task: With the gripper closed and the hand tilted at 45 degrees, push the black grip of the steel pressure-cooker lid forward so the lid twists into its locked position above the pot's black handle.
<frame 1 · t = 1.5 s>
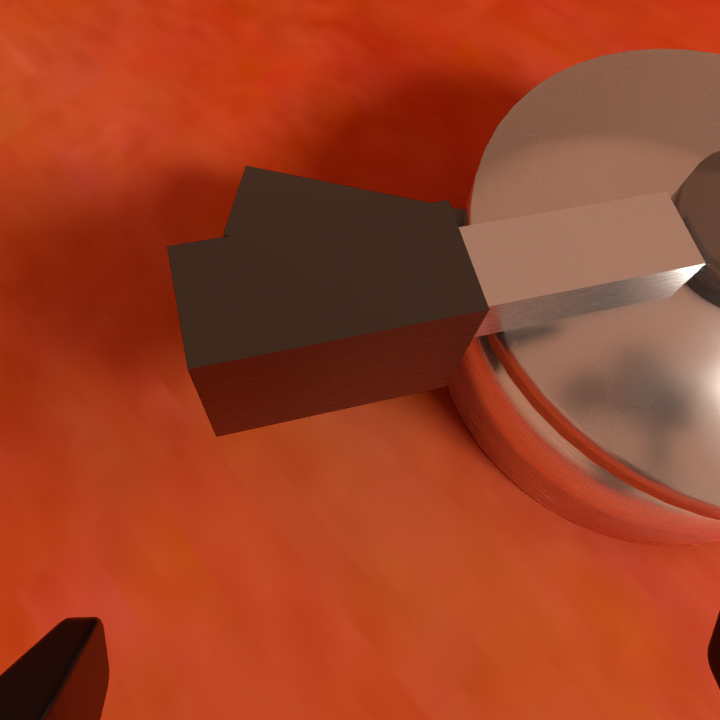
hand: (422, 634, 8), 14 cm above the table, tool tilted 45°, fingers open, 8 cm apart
lid: (619, 268, 19), point 7 cm above the table, hinge at 25.0°
pressure pot: (631, 342, 26), on the table
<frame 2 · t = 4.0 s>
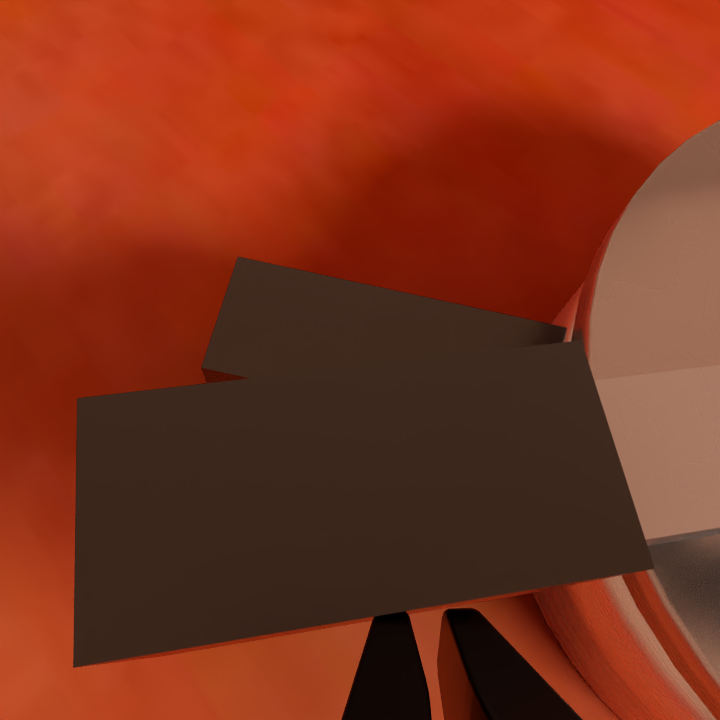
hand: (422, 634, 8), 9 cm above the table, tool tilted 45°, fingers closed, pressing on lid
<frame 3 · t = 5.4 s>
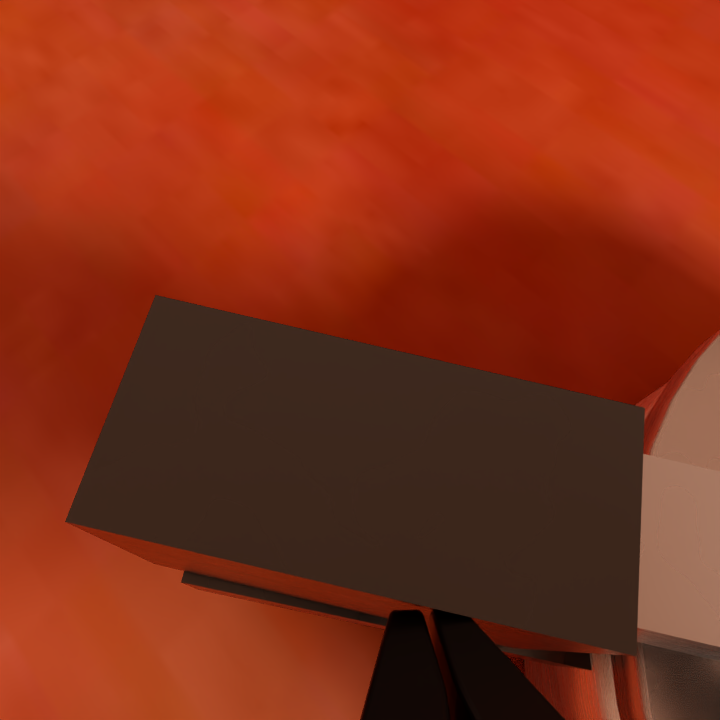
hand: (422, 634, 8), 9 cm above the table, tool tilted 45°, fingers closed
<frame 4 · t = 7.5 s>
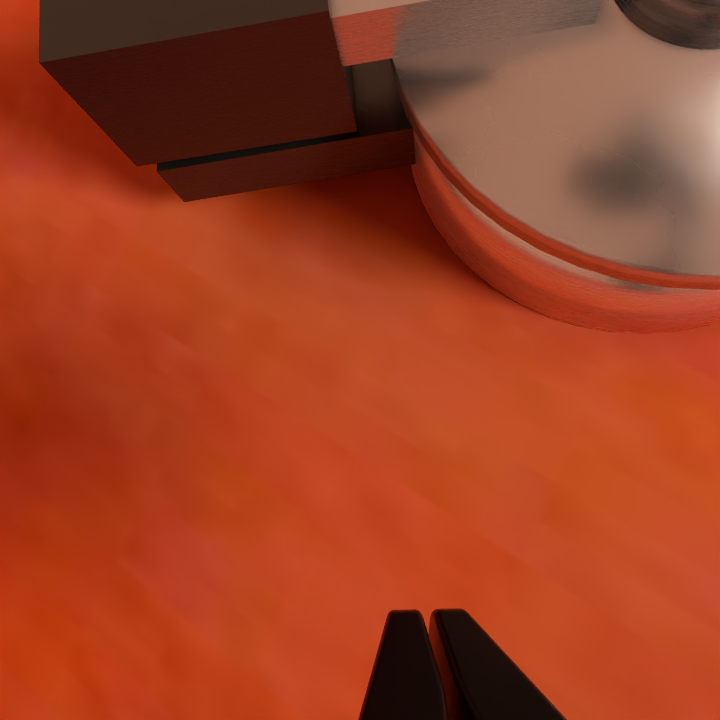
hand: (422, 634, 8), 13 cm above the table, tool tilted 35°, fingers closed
pressure pot: (629, 118, 23), on the table
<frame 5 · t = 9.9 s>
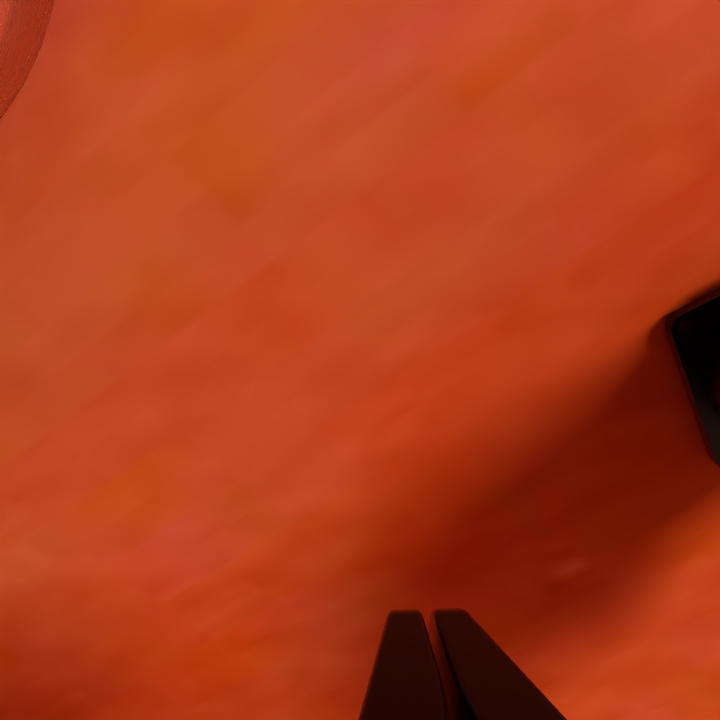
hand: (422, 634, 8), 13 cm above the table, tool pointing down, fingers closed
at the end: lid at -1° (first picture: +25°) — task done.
